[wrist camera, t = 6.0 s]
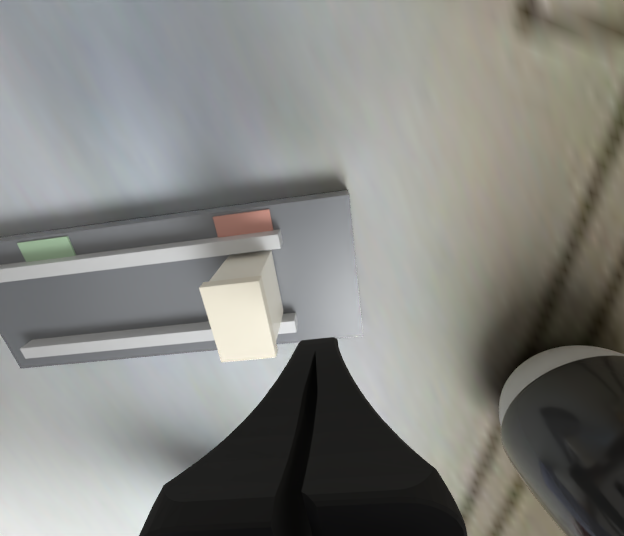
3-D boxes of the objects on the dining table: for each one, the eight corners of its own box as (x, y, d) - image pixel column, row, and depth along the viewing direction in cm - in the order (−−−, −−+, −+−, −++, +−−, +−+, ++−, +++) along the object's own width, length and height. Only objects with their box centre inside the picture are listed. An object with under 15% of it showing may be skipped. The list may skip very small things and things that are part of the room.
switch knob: (286, 312, 21) (275, 357, 17) (242, 316, 21) (221, 362, 17) (273, 248, 19) (258, 280, 15) (226, 254, 19) (198, 287, 15)
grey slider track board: (361, 323, 23) (365, 345, 20) (37, 355, 25) (8, 378, 23) (347, 189, 19) (350, 198, 17) (-26, 240, 22) (-68, 254, 19)
